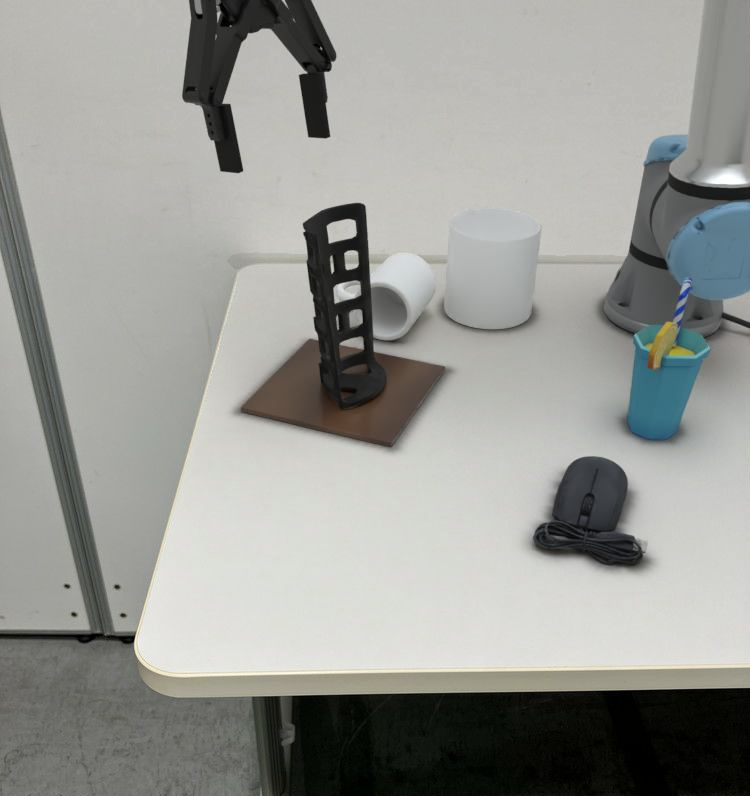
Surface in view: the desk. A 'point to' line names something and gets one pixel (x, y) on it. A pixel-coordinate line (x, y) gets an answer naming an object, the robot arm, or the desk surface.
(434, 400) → the desk surface
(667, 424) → the cup
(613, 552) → the computer mouse
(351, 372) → the board
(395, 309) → the mug
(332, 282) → the holder
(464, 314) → the cup
